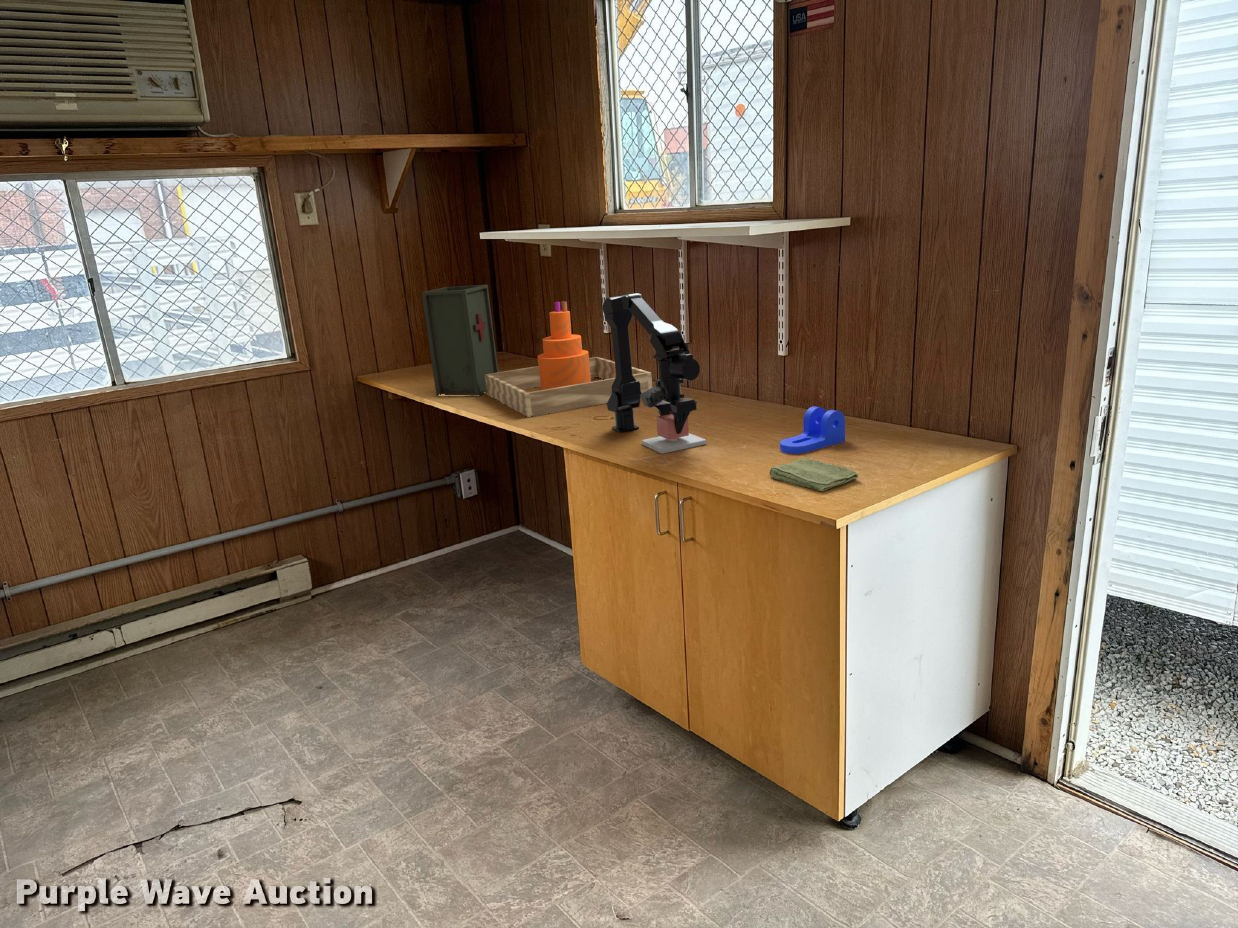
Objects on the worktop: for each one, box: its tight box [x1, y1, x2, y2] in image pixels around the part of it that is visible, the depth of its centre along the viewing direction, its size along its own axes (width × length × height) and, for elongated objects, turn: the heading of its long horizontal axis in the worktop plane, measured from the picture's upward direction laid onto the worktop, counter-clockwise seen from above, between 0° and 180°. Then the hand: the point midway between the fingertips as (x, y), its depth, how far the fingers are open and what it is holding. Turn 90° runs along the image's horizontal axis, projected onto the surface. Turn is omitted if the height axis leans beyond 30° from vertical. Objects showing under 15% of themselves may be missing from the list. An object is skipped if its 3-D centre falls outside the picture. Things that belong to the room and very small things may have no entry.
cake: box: [537, 301, 592, 390], centre depth 304 cm, size 20×19×35 cm
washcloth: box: [769, 458, 859, 493], centre depth 196 cm, size 13×18×3 cm
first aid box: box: [421, 284, 499, 396], centre depth 325 cm, size 18×18×40 cm
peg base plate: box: [641, 432, 707, 455], centre depth 233 cm, size 12×14×5 cm
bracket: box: [779, 405, 846, 455], centre depth 221 cm, size 18×8×9 cm, turn 123°
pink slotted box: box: [655, 414, 690, 440], centre depth 232 cm, size 6×6×6 cm
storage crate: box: [485, 356, 653, 418], centre depth 308 cm, size 47×47×8 cm
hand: (672, 431), depth 233 cm, fingers closed on pink slotted box, 6 cm apart
